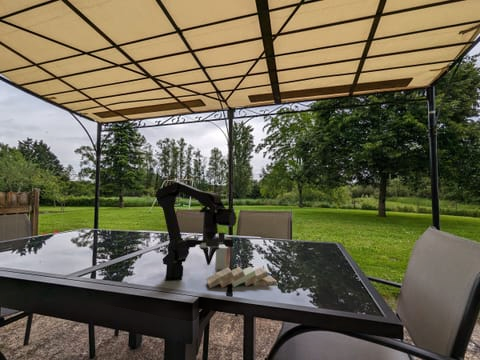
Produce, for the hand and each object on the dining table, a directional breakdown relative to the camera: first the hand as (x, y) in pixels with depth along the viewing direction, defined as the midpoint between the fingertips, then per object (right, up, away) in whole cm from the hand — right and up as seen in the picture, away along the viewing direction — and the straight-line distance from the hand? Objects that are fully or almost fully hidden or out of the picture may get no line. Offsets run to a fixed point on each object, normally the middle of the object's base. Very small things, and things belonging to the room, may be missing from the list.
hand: (208, 264), depth 90 cm
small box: (+4, -11, +25) cm, 28 cm away
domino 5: (+17, -9, +4) cm, 20 cm away
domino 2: (+4, -7, +1) cm, 9 cm away
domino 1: (0, -7, -1) cm, 7 cm away
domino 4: (+14, -8, +3) cm, 16 cm away
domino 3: (+9, -8, +2) cm, 12 cm away
